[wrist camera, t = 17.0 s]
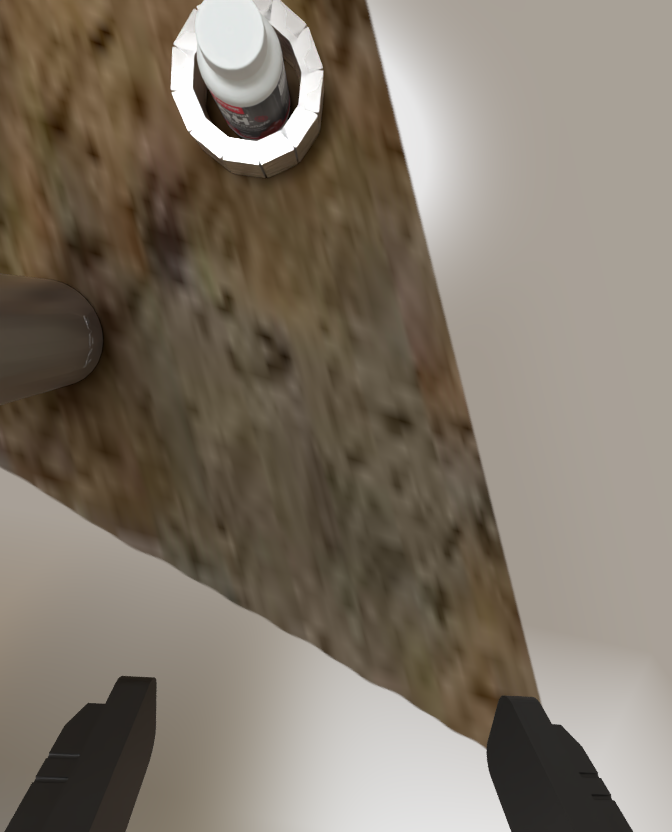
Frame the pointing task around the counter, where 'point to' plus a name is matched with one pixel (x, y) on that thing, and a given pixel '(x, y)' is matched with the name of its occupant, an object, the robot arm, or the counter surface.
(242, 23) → the pill bottle
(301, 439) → the counter surface
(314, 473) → the counter surface
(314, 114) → the ring collar
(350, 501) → the counter surface
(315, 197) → the counter surface
